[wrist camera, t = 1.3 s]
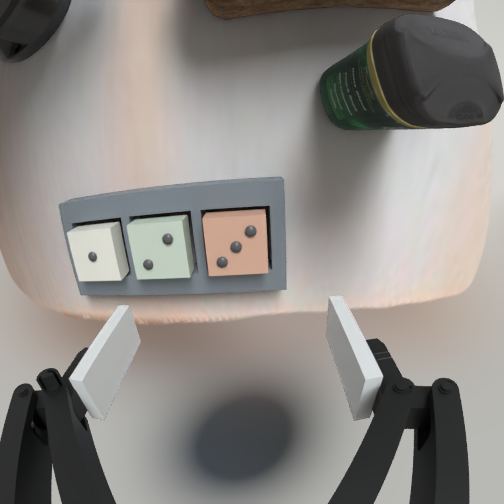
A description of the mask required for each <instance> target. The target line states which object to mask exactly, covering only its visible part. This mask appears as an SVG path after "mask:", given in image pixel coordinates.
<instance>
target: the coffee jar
mask: <svg viewBox="0 0 504 504" xmlns="http://www.w3.org/2000/svg"><path fill="white" fill-rule="evenodd" d="M320 92H321V97H322V102H323V106H324V109H325V111H326V114H327V116H328V118H329V119H330V120H331V122H332V123H333V124H334V125H336V126H337V127H339V128H342V129H345V130H378V129H440V128H460V127H469V126H476V125H483V124H486V123H488V122H490V121H491V120H492V119H493V118H494V117H495V116H496V115H497V113H498V111H499V109H500V107H501V104H502V102H503V100H504V94H503V88H502V82H501V77H500V73H499V69H498V65H497V62H496V58H495V56H494V53H493V50H492V48H491V46H490V45H488V44H487V43H486V42H485V41H484V40H483V39H482V38H481V37H480V36H479V35H478V34H477V33H476V32H474V31H473V30H472V29H470V28H469V27H467V26H465V25H463V24H461V23H458V22H455V21H452V20H448V19H444V18H439V17H434V16H427V15H417V14H406V15H402V16H399V17H397V18H395V19H393V20H391V21H389V22H387V23H385V24H383V25H382V26H381V27H379V28H378V29H377V30H376V31H375V32H374V33H373V34H372V36H371V37H370V39H369V42H368V43H366V44H365V45H363V46H362V47H360V48H359V49H357V50H356V51H354V52H353V53H351V54H350V55H348V56H347V57H345V58H344V59H342V60H340V61H339V62H337V63H336V64H334V65H333V66H331V67H330V68H329V69H327V70H326V71H325V72H324V73H323V75H322V76H321V79H320Z"/></svg>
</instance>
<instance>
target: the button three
mask: <svg viewBox="0 0 504 504" xmlns="http://www.w3.org/2000/svg"><path fill="white" fill-rule="evenodd" d="M202 220H203V230H204V238H205V247H206V255H207V264H208V271H209V276H224V275H244V274H263V273H268V251H267V229H266V213H265V209H255V210H238V211H223V212H208V213H206V214H205V215H204V217H203V218H202Z"/></svg>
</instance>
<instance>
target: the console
mask: <svg viewBox="0 0 504 504" xmlns="http://www.w3.org/2000/svg"><path fill="white" fill-rule="evenodd" d="M252 206H269V228H270V253H271V259H268V273H263V274H244V275H224V276H209V271H208V264H207V255H206V247H205V238H204V230H203V220H202V218H203V217H204V215H205V214H206V211H205V210H207V209H221V208H236V207H252ZM59 209H60V215H61V220H62V225H63V230H64V234H65V239H66V243H67V247H68V251H69V255H70V259H71V263H72V267H73V270H74V274H75V278H76V281H77V284H78V288H79V291H80V294H81V295H174V294H207V293H232V292H253V291H271V290H286V230H285V197H284V180H283V179H282V177H266V178H248V179H232V180H219V181H207V182H195V183H185V184H175V185H166V186H157V187H149V188H141V189H134V190H126V191H119V192H112V193H106V194H99V195H93V196H87V197H81V198H75V199H71V200H68V201H66V202H63V203H61V204H59ZM182 211H191V218H192V227H193V235H194V243H195V250H196V258H197V263H194V270H193V272H192V274H191V277H190V278H166V279H137V276H136V272H135V267H134V263H133V258H132V253H131V248H130V243H129V237H128V232H127V225H128V224H130V223H131V222H132V221H134V220H135V219H140V217H139V215H149V214H159V213H170V212H182ZM120 217H121V222H122V227H123V233H124V238H125V244H126V249H127V254H128V258H129V263H130V266H128V267H129V272H128V273H127V275H126V276H125V277H124V278H123V279H122V280H119V281H79V279H78V275H77V272H76V268H75V265H74V261H73V257H72V253H71V249H70V244H69V240H68V236H67V232H69V231H71V230H72V229H74V228H76V227H77V226H85V222H86V221H94V220H102V219H111V218H120Z"/></svg>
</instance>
